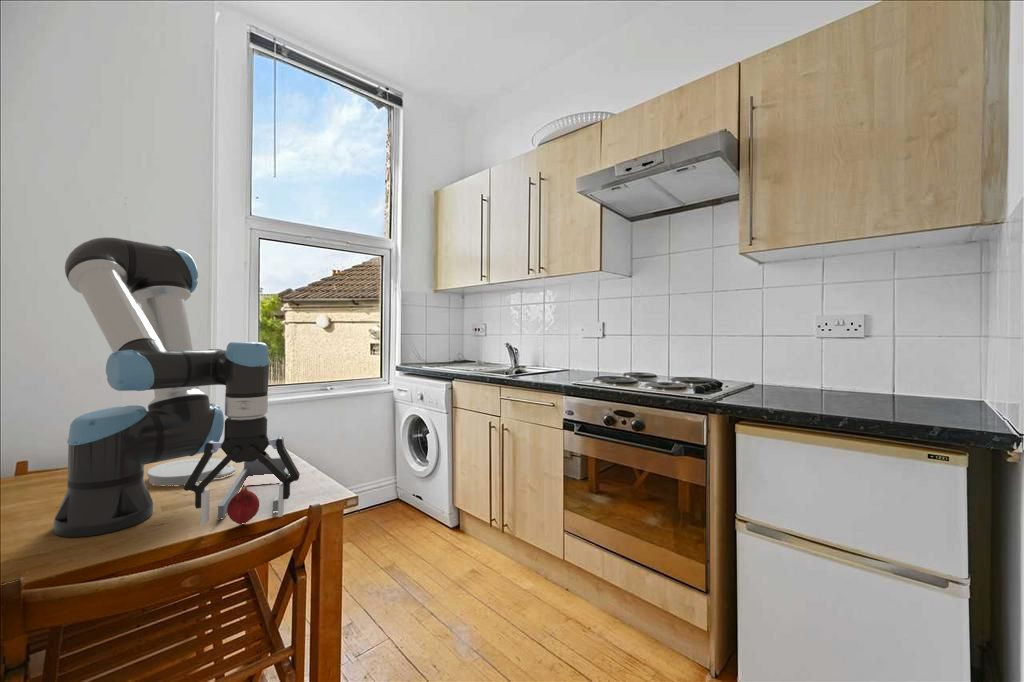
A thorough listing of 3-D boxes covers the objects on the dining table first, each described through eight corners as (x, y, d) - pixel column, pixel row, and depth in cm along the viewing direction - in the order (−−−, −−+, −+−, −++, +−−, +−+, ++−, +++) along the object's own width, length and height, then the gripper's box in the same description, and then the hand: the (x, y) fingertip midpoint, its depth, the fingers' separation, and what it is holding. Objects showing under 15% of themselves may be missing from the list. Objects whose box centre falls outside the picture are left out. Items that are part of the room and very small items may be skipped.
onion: (262, 525, 91) (263, 487, 91) (230, 533, 87) (232, 493, 87) (254, 516, 95) (255, 480, 95) (223, 523, 91) (225, 486, 91)
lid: (223, 485, 113) (223, 474, 113) (131, 490, 108) (132, 478, 108) (244, 466, 130) (244, 456, 130) (165, 469, 124) (166, 459, 124)
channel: (217, 520, 92) (218, 496, 92) (244, 477, 119) (245, 459, 119) (277, 513, 97) (278, 491, 97) (290, 473, 124) (290, 456, 124)
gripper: (165, 422, 81) (163, 535, 81) (311, 416, 90) (309, 517, 90) (179, 415, 88) (176, 519, 88) (313, 411, 97) (311, 504, 97)
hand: (244, 518), depth 89 cm, fingers open, 13 cm apart
